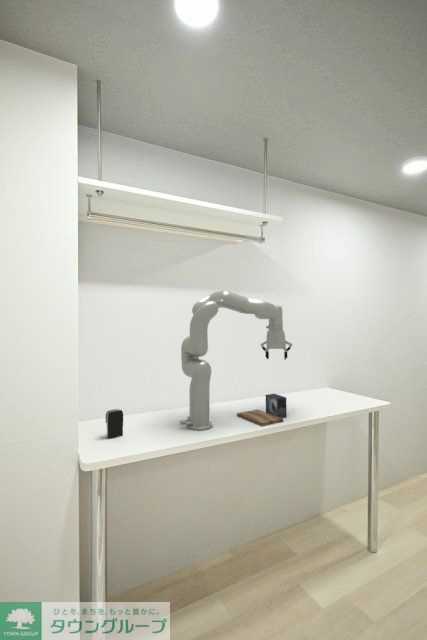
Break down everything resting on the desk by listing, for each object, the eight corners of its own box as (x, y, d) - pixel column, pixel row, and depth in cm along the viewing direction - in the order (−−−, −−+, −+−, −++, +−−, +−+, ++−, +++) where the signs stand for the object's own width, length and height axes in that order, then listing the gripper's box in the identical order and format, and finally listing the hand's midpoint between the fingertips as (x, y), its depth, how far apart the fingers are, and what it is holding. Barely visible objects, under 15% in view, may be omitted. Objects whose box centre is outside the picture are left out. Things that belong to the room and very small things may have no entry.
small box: (264, 413, 175) (264, 394, 175) (274, 412, 178) (274, 393, 178) (277, 419, 165) (277, 398, 165) (287, 417, 168) (287, 397, 168)
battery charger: (119, 433, 143) (120, 407, 143) (123, 435, 140) (123, 409, 141) (104, 436, 139) (104, 410, 139) (107, 439, 136) (108, 412, 136)
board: (261, 426, 153) (261, 423, 153) (236, 416, 170) (236, 413, 170) (283, 421, 161) (283, 418, 161) (257, 412, 178) (257, 409, 178)
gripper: (258, 328, 177) (259, 359, 177) (291, 328, 171) (291, 360, 171) (261, 328, 184) (262, 358, 184) (292, 327, 178) (293, 358, 178)
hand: (276, 359), depth 178 cm, fingers open, 9 cm apart
